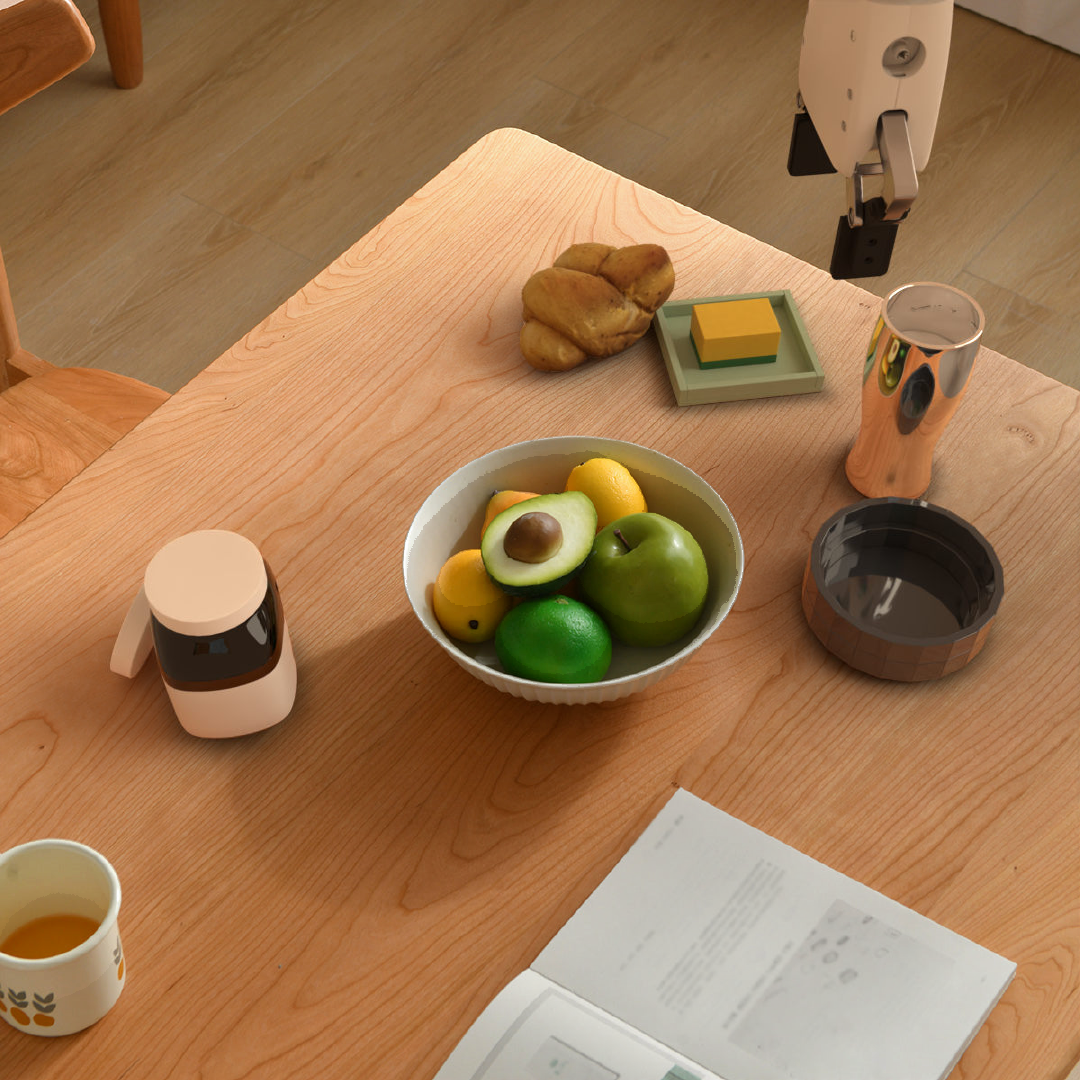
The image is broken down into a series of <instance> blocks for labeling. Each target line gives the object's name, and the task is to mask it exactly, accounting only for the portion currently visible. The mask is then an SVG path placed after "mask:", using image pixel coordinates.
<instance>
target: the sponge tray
mask: <svg viewBox="0 0 1080 1080" xmlns="http://www.w3.org/2000/svg"><path fill="white" fill-rule="evenodd" d="M761 298H768V299H769V302H770V304H771V307H772V309H773V312H774V315H775V317H776V320H777V322H778V325H779V327H780V330H781V335H780V341H779V346H778V352H777V358H776V362H774V363H765V364H755V365H745V366H736V367H726V368H716V369H707V370H700V367H699V364H698V361H697V358H696V355H695V352H694V349H693V346H692V343H691V340H690V337H689V334H690V326H691V317H692V308H693V305H700V304H710V303H720V302H731V301H741V300H751V299H761ZM802 318H803V317H802V316H801V313H800V311H799V309H798V306H797V303H796V302H795V298H794V296H793V294H792V292H791V289H789V288H787V289H778V290H777V289H776V290H768V291H758V292H757V291H756V292H747V293H737V294H727V295H726V294H725V295H718V296H717V295H715V296H707V297H705V296H704V297H697V298H687V299H676V300H667V301H666V302H665V303H664V304H663V305H662V306H661V307H660V308H659V309H658V310H657V311H655V313H654V316H653V318H652V320H651V322H652V324H653V328H654V331H655V335H656V337H657V341H658V344H659V347H660V352H661V354H662V358H663V361H664V364H665V368H666V370H667V374H668V377H669V380H670V383H671V388H672V390H673V393H674V397H675V400H676V402H677V407H687V406H688V407H689V406H697V405H698V406H699V405H707V404H716V403H717V404H718V403H725V402H735V401H744V400H745V401H746V400H754V399H763V398H765V399H766V398H772V397H783V396H792V395H802V394H803V395H804V394H813V393H820V392H822V391H823V387H824V382H825V377H826V374H825V372H824V369H823V368H822V367H823V366H822V365H821V362H820V360H819V357H818V355H817V352H816V350H815V348H814V345H813V342H812V340H811V337H810V335H809V333H808V330H807V328H806V326H805V323H804V321H803V319H802Z"/></svg>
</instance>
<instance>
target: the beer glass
mask: <svg viewBox="0 0 1080 1080" xmlns="http://www.w3.org/2000/svg"><path fill="white" fill-rule="evenodd" d="M880 307H881V308H880V311H879V313H878V316H877V319H876V320H875V321H876V322H875V324H874V327H873V330H872V333H871V335H870V339H869V342H868V346H867V349H866V354H865V359H864V363H863V369H862V381H861V417H860V418H861V419H860V420H861V421H860V428H859V432H858V436H857V438H856V440H855V442H854V444H853V446H852V447H851V450H850V452H849V453H848V455H847V457H846V460H845V466H844V467H845V474H846V477H847V479H848V481H849V483H850V484H851V485H852V487H853V488H854V489H855V490H856V491H858V492H859V493H860V494H861V495H863V496H865V497H867V498H868V499H871V498H880V497H889V496H892V497H901V498H910V499H918V498H919V497H921V496H922V495H923V494H924V493H925V492H926V491H927V489H928V487H929V486H930V483H931V480H932V466H933V465H932V464H933V463H932V462H933V456H934V451H935V448H936V446H937V443H938V441H939V440H940V438H941V436H942V435H943V433H944V431H945V430H946V428H947V427H948V425H949V423H950V422H951V420H952V418H953V417H954V415H955V413H956V412H957V410H958V408H959V406H960V405H961V402H962V400H963V399H964V397H965V395H966V393H967V391H968V388H969V385H970V382H971V380H972V377H973V373H974V370H975V366H976V363H977V360H978V355H979V350H980V346H981V341H982V337H983V332H984V330H985V327H986V317H985V313H984V311H983V309H982V308H981V306H980V305H979V303H978V302H977V301H976V300H975V299H974V298H973V297H972V296H970V295H969V294H968V293H966V292H965V291H963V290H961V289H959V288H956V287H954V286H952V285H949V284H945V283H942V282H935V281H914V282H908V283H905V284H901V285H899V286H897V287H895V288H894V289H892V290H891V291H889V292H888V293H887V294H886V295H885V297H884V298H883V301H882V303H881V306H880Z"/></svg>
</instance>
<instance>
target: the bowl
mask: <svg viewBox="0 0 1080 1080" xmlns="http://www.w3.org/2000/svg"><path fill="white" fill-rule="evenodd" d="M801 586H802V590H801V606H802V609H803V612H804V615H805V617H806V620H807V623H808V626H809V629H810V630H811V631H812V632H813V633H814V635H815V636H816V637H817V639H818V640H819V641H820V642H821V644H822V645H823V646H824V647H825V649H827V650H828V651H829V652H831V653H832V654H833V655H835V656H836V657H837V658H839V659H840V660H841V661H843V662H844V663H845V664H847V665H848V666H850V667H851V668H854V669H856V670H858V671H861V672H864V673H866V674H868V675H871V676H873V677H876V678H880V679H885V680H894V681H900V682H908V683H909V682H911V683H912V682H920V681H927V680H934V679H935V680H936V679H940V678H941V679H942V678H943V677H946V676H947V675H949V674H952V673H954V672H956V671H958V670H961V669H963V668H964V667H965V666H967V665H968V664H969V663H970V662H971V661H972V660H973V658H974V657H976V656H977V654H978V653H979V652H980V651H981V650H982V648H983V646H984V644H985V642H986V639H987V637H988V635H989V633H990V630H991V628H992V626H993V624H994V621H995V619H996V616H997V614H998V611H999V610H1000V606H1001V603H1002V601H1003V598H1004V596H1005V577H1004V568H1003V565H1002V563H1001V561H1000V559H999V557H998V555H997V553H996V551H995V548H994V546H993V545H992V544H991V543H990V542H989V540H988V539H986V537H985V536H984V535H983V534H982V533H981V531H980V530H978V528H977V527H976V526H974V525H973V524H972V523H970V522H969V521H967V520H966V519H964V518H963V517H962V516H959V515H958V514H956V513H955V512H953V511H952V510H949V509H948V508H945V507H942V506H939V505H936V504H933V503H931V502H928V501H925V500H923V499H918V498H916V499H910V498H901V497H892V496H889V497H880V498H864V499H862V500H859V501H857V502H854V503H851V504H849V505H846V506H843V507H841V508H840V509H838V510H837V511H836V512H834V513H833V514H832V515H831V516H830V517H829V518H828V519H826V520H825V521H824V522H823V523H822V524H821V525H820V527H819V529H818V531H817V533H816V535H815V537H814V539H813V541H812V543H811V544H810V550H809V553H808V558H807V562H806V566H805V570H804V574H803V579H802V585H801Z"/></svg>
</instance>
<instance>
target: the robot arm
mask: <svg viewBox="0 0 1080 1080" xmlns="http://www.w3.org/2000/svg"><path fill="white" fill-rule="evenodd" d="M954 2H955V0H808V5H807V9H806V16H805V20H804V27H803V32H802V38H801V39H802V40H801V44H800V54H799V63H798V64H799V65H798V85H799V87H798V88H799V89H797V92H796V96H795V104H796V110H797V111H798V113H794V119H793V125H792V132H791V136H790V138H791V139H790V144H789V151H788V156H787V157H788V158H787V164H786V169H787V171H788V174H789V176H791V177H807V176H809V177H810V176H820V175H821V176H822V175H832V174H837V173H839V174H841V175H842V176H843V177H845V194H846V214H844V215H840V216H839V219H838V225H837V229H836V234H835V238H834V245H833V249H832V253H831V254H832V255H831V259H830V264H829V270H828V271H829V273H830V276H831V278H832V279H833V281H844V280H854V279H855V280H856V279H865V278H867V279H868V278H877V277H883V276H885V275H886V274H887V273H888V271H889V268H890V263H891V259H892V256H893V251H894V247H895V243H896V238H897V235H898V230H899V226H900V225H902V224H903V223H904V221H905V220H906V219H907V217H908V215H909V213H911V209H912V205H913V204H914V203H915V201H916V200H917V198H918V196H919V182H918V181H919V180H918V177H917V173H921V172H923V171H924V170H925V169H926V167H927V165H928V163H929V159H930V156H931V152H932V147H933V143H934V138H935V133H936V128H937V125H938V119H939V113H940V109H941V104H942V103H941V102H942V99H943V92H944V86H945V80H946V75H947V68H948V62H949V56H950V49H951V39H952V28H953V19H954V18H953V17H954ZM799 112H800V113H799ZM870 152H878V153H879V159H880V162H869V163H862V162H863V160H864V159H865V157H866V156H867V155H868V153H870ZM870 177H883V186H882V188H881V190H880V196H875V197H872V198H869V199H868V200H865V201H864V185H863V178H870Z"/></svg>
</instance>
